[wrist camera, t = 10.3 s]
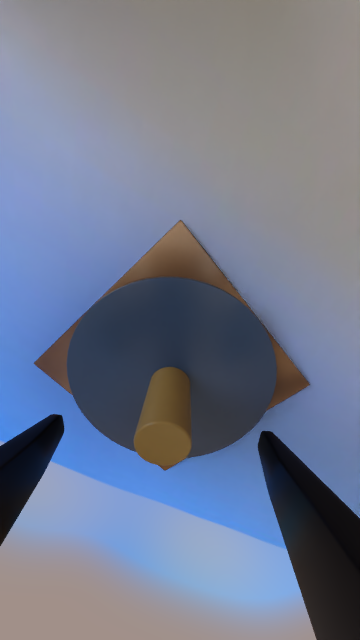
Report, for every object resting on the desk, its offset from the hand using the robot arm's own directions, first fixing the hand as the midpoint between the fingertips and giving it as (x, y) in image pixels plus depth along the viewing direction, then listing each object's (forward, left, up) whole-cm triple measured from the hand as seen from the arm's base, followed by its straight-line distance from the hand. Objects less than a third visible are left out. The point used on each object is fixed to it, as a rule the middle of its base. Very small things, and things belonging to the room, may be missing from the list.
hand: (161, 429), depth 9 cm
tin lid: (0, 0, -4) cm, 4 cm away
